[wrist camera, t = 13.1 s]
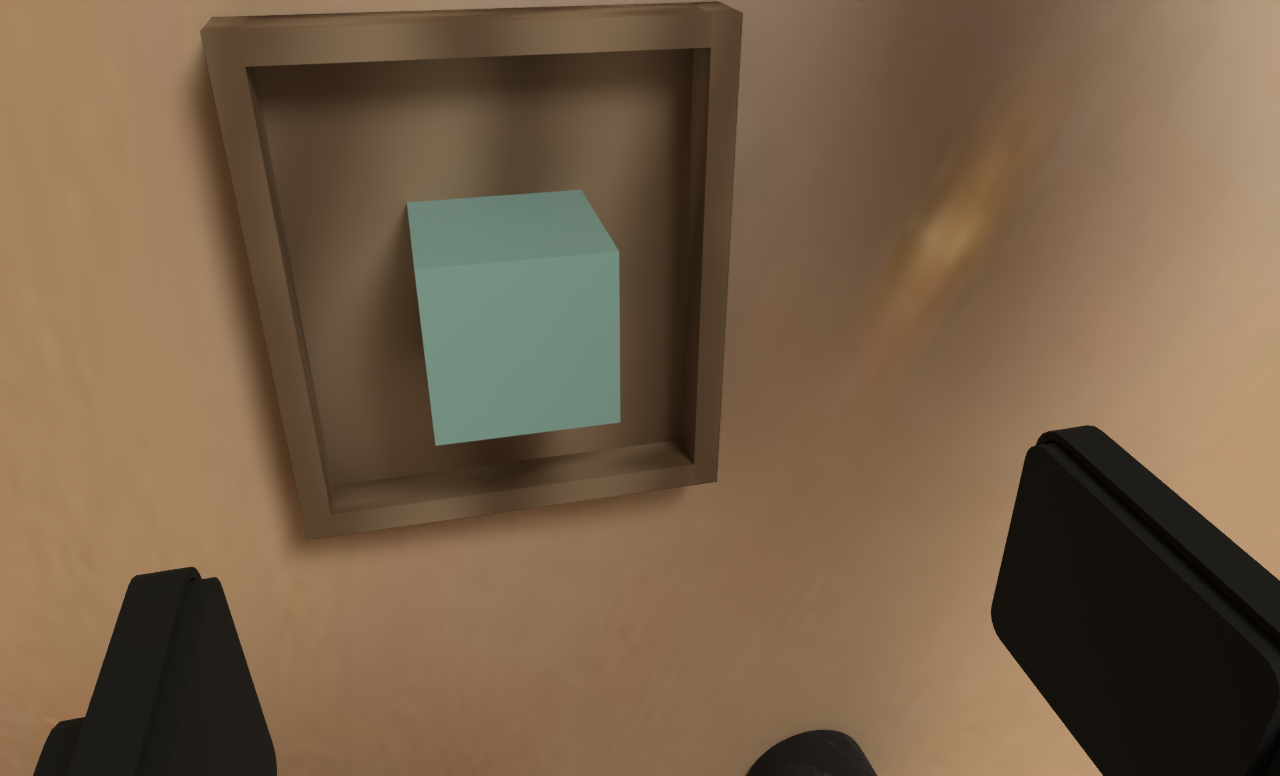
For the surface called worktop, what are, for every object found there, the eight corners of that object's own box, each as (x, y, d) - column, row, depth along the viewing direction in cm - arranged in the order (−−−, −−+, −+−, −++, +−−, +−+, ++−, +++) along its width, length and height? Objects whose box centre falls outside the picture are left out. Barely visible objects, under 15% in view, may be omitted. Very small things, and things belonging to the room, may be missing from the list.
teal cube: (581, 189, 34) (618, 251, 29) (585, 341, 37) (620, 422, 32) (406, 202, 32) (414, 269, 27) (425, 359, 35) (435, 445, 30)
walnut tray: (718, 1, 32) (742, 13, 30) (698, 448, 41) (716, 481, 39) (212, 17, 29) (199, 31, 27) (310, 500, 38) (307, 539, 36)
